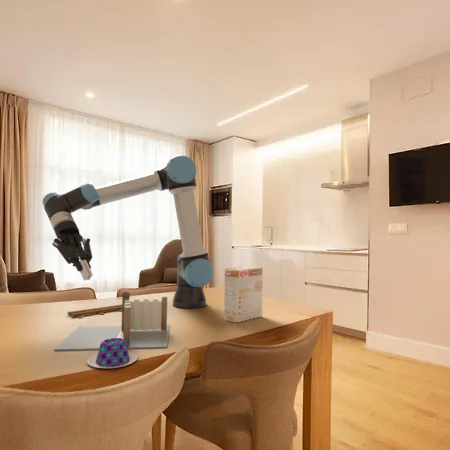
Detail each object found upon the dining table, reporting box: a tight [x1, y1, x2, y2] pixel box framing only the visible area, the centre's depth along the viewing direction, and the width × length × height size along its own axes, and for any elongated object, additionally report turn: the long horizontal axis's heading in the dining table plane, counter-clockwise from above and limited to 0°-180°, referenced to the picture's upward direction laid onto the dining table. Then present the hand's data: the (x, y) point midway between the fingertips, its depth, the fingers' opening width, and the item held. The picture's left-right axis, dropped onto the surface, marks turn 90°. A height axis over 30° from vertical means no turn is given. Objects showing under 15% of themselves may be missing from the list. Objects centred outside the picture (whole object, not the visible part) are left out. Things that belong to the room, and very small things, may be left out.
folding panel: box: [123, 299, 131, 346], centre depth 102 cm, size 15×2×10 cm, turn 18°
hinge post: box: [121, 291, 131, 332], centre depth 110 cm, size 3×3×13 cm
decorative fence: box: [67, 304, 122, 319], centre depth 138 cm, size 25×2×10 cm
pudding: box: [87, 338, 138, 369], centre depth 86 cm, size 12×12×5 cm
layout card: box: [53, 324, 170, 352], centre depth 105 cm, size 30×23×1 cm
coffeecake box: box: [223, 265, 263, 324], centre depth 132 cm, size 15×7×20 cm, turn 135°
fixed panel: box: [129, 296, 168, 331], centre depth 111 cm, size 12×2×11 cm, turn 98°
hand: (88, 277), depth 112 cm, fingers closed
